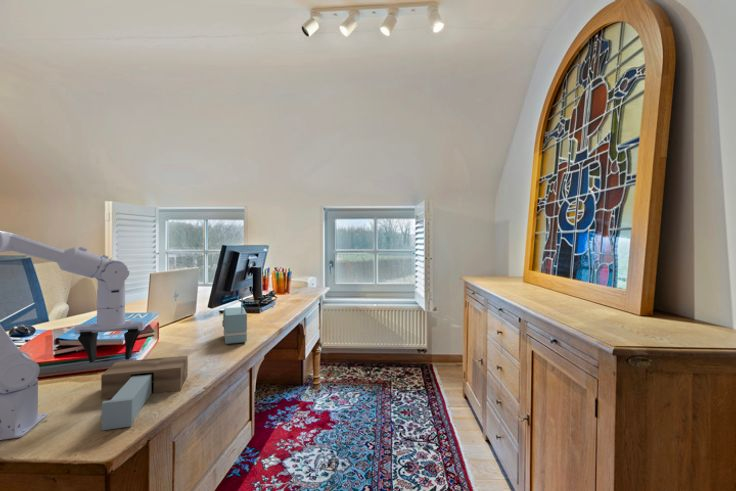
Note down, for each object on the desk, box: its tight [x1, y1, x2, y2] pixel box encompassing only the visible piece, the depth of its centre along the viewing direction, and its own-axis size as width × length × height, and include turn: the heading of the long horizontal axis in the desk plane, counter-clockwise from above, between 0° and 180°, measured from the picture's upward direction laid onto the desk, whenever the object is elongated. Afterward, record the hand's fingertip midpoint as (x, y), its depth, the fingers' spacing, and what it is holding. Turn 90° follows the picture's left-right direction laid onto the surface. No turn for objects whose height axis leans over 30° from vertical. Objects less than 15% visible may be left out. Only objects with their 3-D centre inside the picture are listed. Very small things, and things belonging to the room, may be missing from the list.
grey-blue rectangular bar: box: [101, 374, 153, 431], centre depth 81 cm, size 17×5×6 cm, turn 19°
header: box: [100, 355, 189, 400], centre depth 94 cm, size 10×18×6 cm, turn 109°
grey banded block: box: [221, 293, 248, 345], centre depth 140 cm, size 16×9×20 cm, turn 25°
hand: (110, 359), depth 87 cm, fingers open, 7 cm apart
